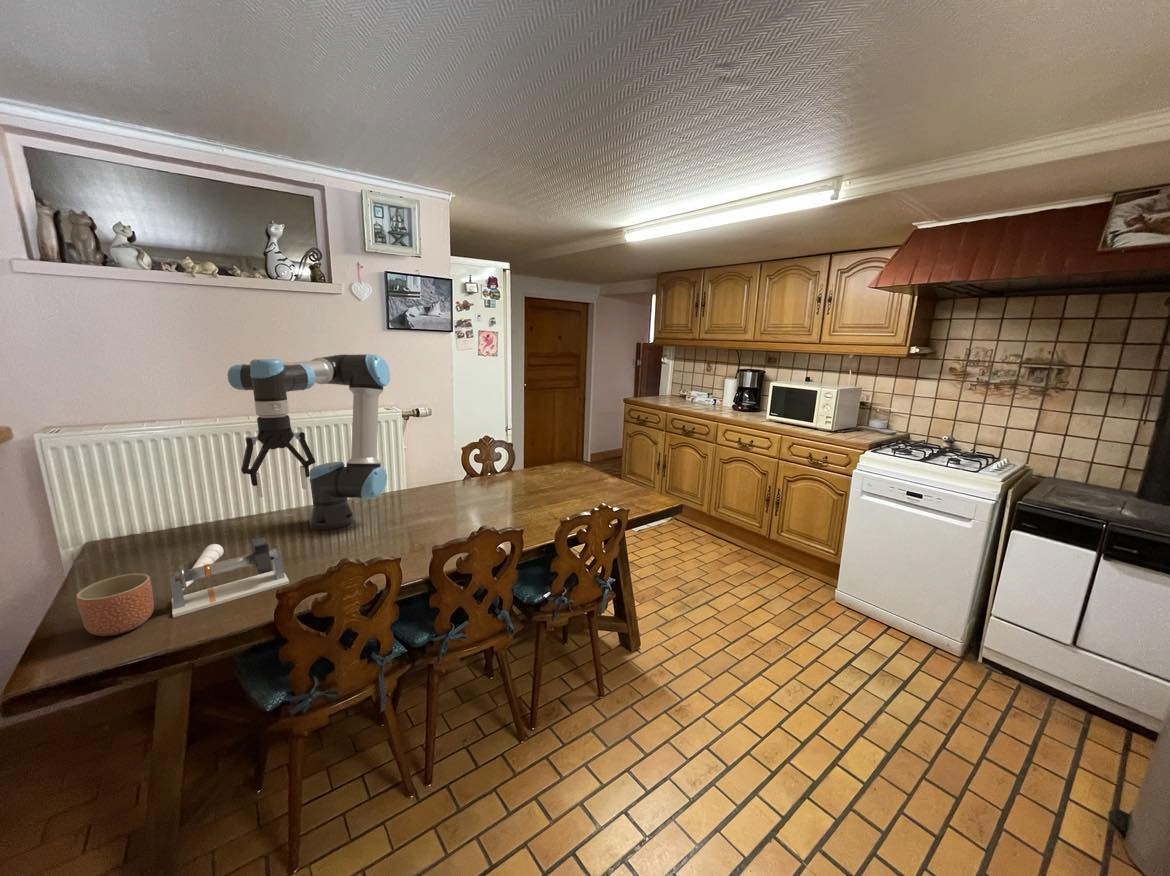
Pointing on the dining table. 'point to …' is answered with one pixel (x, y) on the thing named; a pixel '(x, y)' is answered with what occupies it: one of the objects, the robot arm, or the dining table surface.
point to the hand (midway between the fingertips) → (283, 492)
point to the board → (228, 592)
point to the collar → (261, 555)
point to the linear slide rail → (211, 569)
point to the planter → (116, 604)
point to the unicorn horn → (208, 557)
